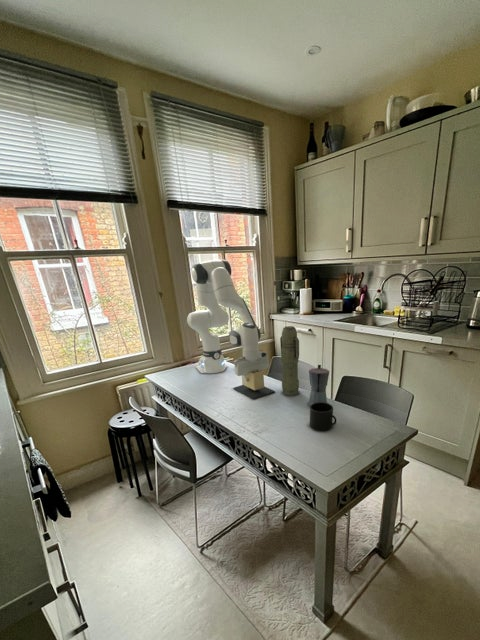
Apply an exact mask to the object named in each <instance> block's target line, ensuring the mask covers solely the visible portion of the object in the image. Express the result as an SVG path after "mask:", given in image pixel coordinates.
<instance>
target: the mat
mask: <svg viewBox="0 0 480 640" xmlns="http://www.w3.org/2000/svg"><path fill="white" fill-rule="evenodd" d="M233 390H234V391H237V392H238V393H240V394H242V395H244V396H245V397H247V398H249V399H252V400H253V401H254V400H257V399H260V398H263V397H266V396H270V395H272V394H274V393H276V392H275V390H273V389H272V388H269V387H267V386H264V388H261V389H257V390H253V389H251V388H249V387H247V386H245V385H243V384H241V385H238V386H234V387H233Z"/></svg>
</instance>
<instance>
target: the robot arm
mask: <svg viewBox="0 0 480 640" xmlns="http://www.w3.org/2000/svg"><path fill="white" fill-rule="evenodd" d="M190 272H191V277H192V280H193V281H194V282H195V284H196V294H197V295H196V296H197V297H196V298H197V302H198V303H199V304H200V306H202V307H205V308H207V309H205V310H196V311H192V312H189V313H188V315H187V318H186V322H187V325H188V327H189V328H190V329H192V330H193V331H195V332H196V333H197V334H198V336H199V337H200V340H201V344H202V356H201V357H200V358H199V360H198V362H197V363H198V365H196V367H195V368H196V369H197V370H198V371H199V373H200V374H217V373H222V372H224V371H226V369H227V367H228V366H227V364H226V362H227V360H226V359H225V356H224V355H223V351H222V348H221V341H220V337H219V335H217V334H216V333H214V332H211V331H210V329H213V328H220V327H224V326H226V325H228V323H229V319H230V318H229V317H230V316H229V313H228V311H227V310H225V309H224V308H229V309H232V310H234V311H236V312H237V313H238V314H239V316H240V318H241V321H242V322H243V323H242V324H241V325H240V326H239V327H237V328H233V329H231V330H230V331H229V333H228V341H229V343H230V345H231V346H232V347H234V348H240V347H241V348H242V349H241V350H242V351H241V352H242V353H241V354H242V356H241V357H237V358H236V359H235V360H234V362H233V365H234V375H236V376H237V377H242V376H243V377H244V378H245V382H248V381H249V379H248V378H247V377H246V376H247V374H249V372H252V371H256V370H260V371H263V370H266V369H269V367H270V363H269V357H268V352H267V351H264V350H260V347H259V341H260V339H261V337H262V336H261V335H262V334H261V330H260V328H259V326H258V325H257V324H256V322H255V320H254V318H253V315H252V314H251V313H252V312H251V311H250V309H249V307H248V304H247V303H246V301H245V299H244V298H243V297H241V295H239V293H238V292H237V289H236V287H235V285H234V282H233V279H232V277H231V276H232V266H231V264H230V262H229V261H228V260H226V259H212V260H207V261H203V262H197V263H195V264H193V265H192V266H191V269H190ZM221 306H222V307H224V308H222V307H221Z"/></svg>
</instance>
